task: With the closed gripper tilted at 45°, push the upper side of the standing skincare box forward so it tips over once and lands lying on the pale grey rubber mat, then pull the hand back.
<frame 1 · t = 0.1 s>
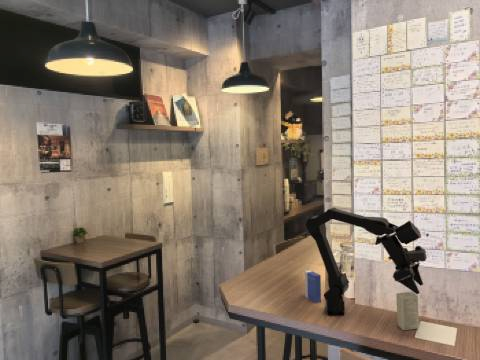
hand: (420, 289, 138), 15 cm above the table, tool tilted 35°, fingers open, 9 cm apart
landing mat: (436, 333, 137), on the table
skincare box: (408, 327, 142), on the table, touching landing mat
walkman: (312, 299, 170), on the table
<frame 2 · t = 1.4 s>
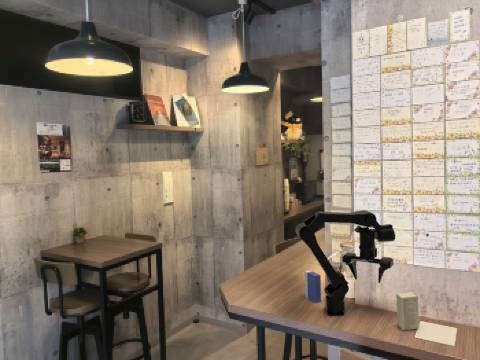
hand: (367, 281, 156), 12 cm above the table, tool pointing down, fingers open, 9 cm apart
nothing on the table moved.
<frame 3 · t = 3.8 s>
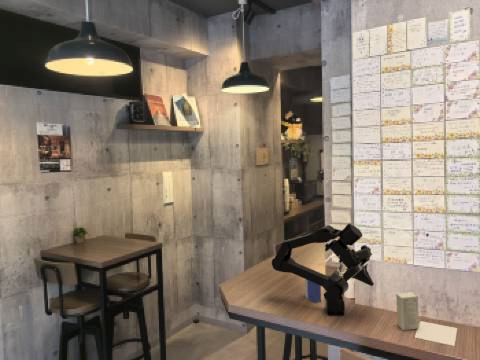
hand: (372, 285, 147), 14 cm above the table, tool tilted 45°, fingers closed
nothing on the table moved.
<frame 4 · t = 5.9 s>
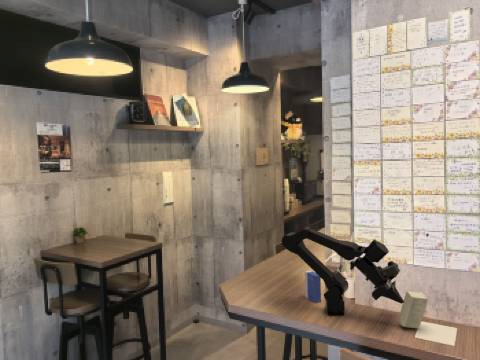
hand: (403, 302, 142), 9 cm above the table, tool tilted 50°, fingers closed
skincare box: (408, 324, 141), point 1 cm above the table, touching gripper, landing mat
everything else where it was.
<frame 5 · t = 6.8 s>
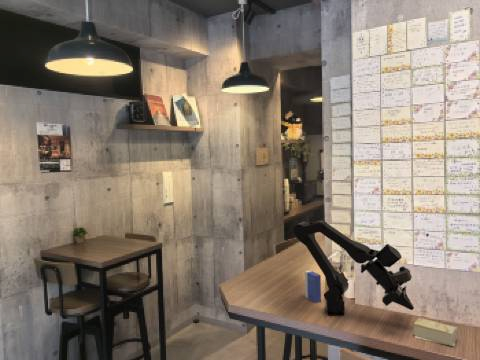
hand: (412, 309, 140), 7 cm above the table, tool tilted 45°, fingers closed
skincare box: (415, 326, 137), point 2 cm above the table, touching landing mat
everything else where it was.
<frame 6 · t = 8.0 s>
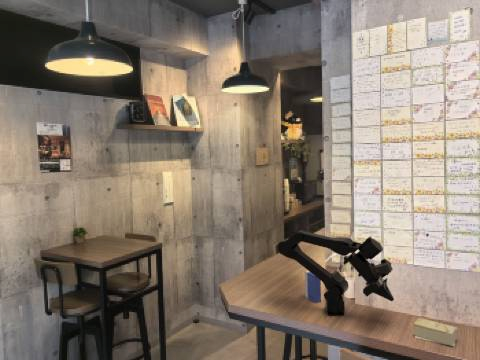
hand: (393, 300, 144), 9 cm above the table, tool tilted 45°, fingers closed
nothing on the table moved.
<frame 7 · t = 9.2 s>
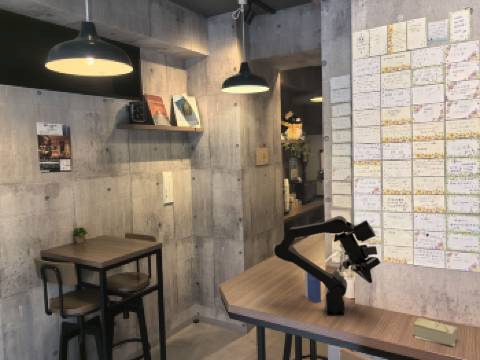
hand: (370, 282, 151), 13 cm above the table, tool tilted 30°, fingers closed
nothing on the table moved.
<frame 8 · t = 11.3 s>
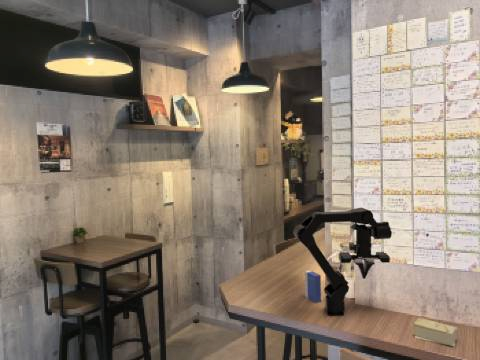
hand: (363, 278, 156), 13 cm above the table, tool pointing down, fingers closed
nothing on the table moved.
at the end: skincare box tilted 89°; skincare box touching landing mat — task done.
